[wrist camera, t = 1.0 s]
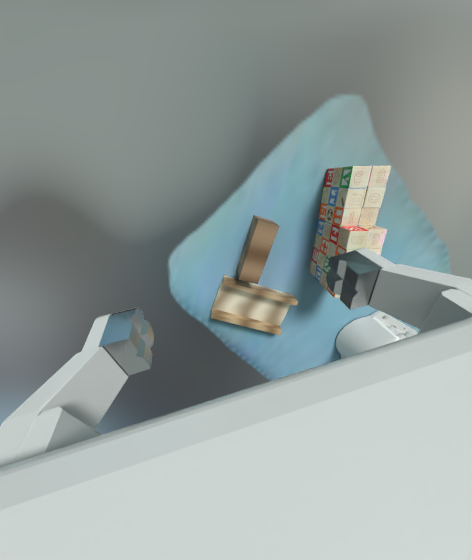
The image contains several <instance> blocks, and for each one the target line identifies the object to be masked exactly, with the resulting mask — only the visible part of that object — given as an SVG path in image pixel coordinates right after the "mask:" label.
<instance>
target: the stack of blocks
mask: <svg viewBox="0 0 472 560" xmlns="http://www.w3.org/2000/svg"><path fill="white" fill-rule="evenodd" d="M390 170H391V166H349V167H343V168H330V169H327V173H326V179H325V185H324V188H323V194H322V200H321V206H320V211H319V219H318V225H317V231H316V237H315V243H314V247H313V253H312V259H311V264H310V269H309V272H310V273H311V274H312V275H313V276H314V277H315V278H316V279H317V280H318V281H319V282H320V284H321V285H322V286H323V287H324V288H325V289H326V290H328V292H329V293H330V294H331V295H332V296H333V297H334V298H340V295H337V294H335V293H333V292H332V291H331V290H330V289H329V287H328V285H327V281H326V276H327V273H328V271H329V270H330V269H331V268H330V267H329V266H328V262H329V259H330V257H332V256H335V255H339V254H343V253H347V252H350V251H353V250H356V249H359V248H363V247H364V248H368V249H370V250H371V251H373V252H375V253H376V254H378V255H380V254H381V251H382V246H383V243H384V239H385V236H386V232H387V229H384V228H381V227H378V226H375V223H376V220H377V216H378V212H379V209H380V207H381V203H382V200H383V196H384V193H385V189H386V188H385V187H386V184H387V180H388V177H389V173H390Z"/></svg>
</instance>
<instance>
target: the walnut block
mask: <svg viewBox="0 0 472 560" xmlns="http://www.w3.org/2000/svg"><path fill="white" fill-rule="evenodd" d="M278 229H279V226H278V225H277V224H276V223H274V222H273V221H271V220H268V219H265V218H262V217H258V216H255V215H254V216H253V220H252V223H251V226H250V229H249V232H248V235H247V238H246V241H245V244H244V248H243V251H242V254H241V257H240V260H239V263H238V266H237V272H238V278H239V280H243V281H247V282H251V283H255V284H258V282H259V279H260V276H261V274H262V271H263V268H264V266H265V263H266V260H267V258H268V255H269V252H270V250H271V247H272V244H273V242H274V239H275V237H276V234H277V231H278Z"/></svg>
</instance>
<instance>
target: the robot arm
mask: <svg viewBox="0 0 472 560" xmlns="http://www.w3.org/2000/svg"><path fill="white" fill-rule="evenodd" d="M328 266H329V267H330V268H331V269H330V270H329V271H328V273H327V276H326V281H327V285H328V287H329V289H330V290H331V291H332V292H333V293H335V294H337V295H340V300H341V301H342V302H343V303H344V304H345V305H346V306H347V307H348V308H349V309H350V310H351V309H355V308H358V307H362V306H366V305H369V306H370V307H373V308H375V309H377V310H379V311H377V312H375V313H373V314H371V315H369V316H367V317H363V318H359V319H356V320H354V321H352V322H351V323H349V324H348V325H346V326H345V327H344V328H343V329H342V330H341V331H340V333H339V334H338V336H337V339H336V348H337V350H338V352H339V353H340V355H341V359H339V360H336V361H332V362H329V363H326V364H323V365H320V366H317V367H314V368H310V369H307V370H304V371H301V372H298V373H295V374H292V375H289V376H285V377H282V378H279V379H276V380H273V381H270V382H267V383H264V384H260V385H257V386H254V387H251V388H248V389H245V390H241V391H238V392H236V393H232V394H229V395H226V396H223V397H220V398H216V399H214V400H210V401H207V402H204V403H201V404H197V405H195V406H191V407H188V408H185V409H182V410H179V411H175V412H172V413H169V414H166V415H163V416H160V417H157V418H154V419H150V420H148V421H144V422H141V423H138V424H135V425H132V426H129V427H125V428H122V429H119V430H116V431H113V432H110V433H107V434H104V435H102V434H100V433H99V432H97V431H96V430H95V428H96V427H97V425H98V423H99V422H100V420H101V419H102V417H103V416H104V414H105V413H106V411H107V410H108V408H109V406H110V405H111V403H112V402H113V400H114V398H115V397H116V395H117V394H118V392H119V391H120V389H121V388H122V386H123V384H124V383H125V381H126V380H127V378H128V376H129V375H132V374H135V373H137V372H141V371H144V370H147V369H150V368H151V360H152V352H151V351H150V348H151V346H152V345H153V340H154V337H153V331H152V328H151V326H150V324H149V322H148V321H145V320H143V318H144V313H143V312H142V310H141V309H140V308H133V309H129V310H125V311H121V312H117V313H113V314H109V315H105V316H101V317H98V318H97V319H96V320H95V322H94V324H93V326H92V329H91V331H90V333H89V336H88V338H87V340H86V343H85V345H84V347H83V350H82V352H81V353H77V354H76V355H75V356H74V357H72V358H71V359H70V360H69V361H68V362H67V363H66V364H65V365H64V366H63V367H62V368H61V369H60V370H58V371H57V372H56V373H55V374H54V375H53V376H52V377H51V378H50V379H49V380H48V381H47V382H46V383H45V384H44V385H42V386H41V387H40V388H39V389H38V390H37V391H36V392H35V393H34V394H33V395H32V396H31V397H29V398H28V399H27V400H26V401H25V402H24V403H23V404H22V405H21V406H20V407H19V408H18V409H17V410H15V411H14V412H13V413H12V414H11V415H10V416H9V417H8V418H7V419H6V420H5V421H4V422H3V423H2V425H1V427H0V560H472V279H468V278H464V277H459V276H454V275H449V274H445V273H440V272H435V271H430V270H425V269H420V268H416V267H411V266H406V265H401V264H398V265H395V264H393V263H392V262H390V261H388V260H386V259H385V258H383V257H381V256H380V255H378V254H376V253H375V252H373V251H371V250H370V249H368V248H364V247H363V248H359V249H356V250H353V251H350V252H347V253H343V254H339V255H335V256H332V257H330V259H329V262H328ZM394 317H395V318H397V319H399V320H401V321H403V322H405V323H408V324H410V325H412V326H414V327H416V328H419V329H420V330H419V332H418V334H417V332H416V331H415V330H414V329H412V328H411V327H409V326H407V325H406V324H404V323H402V322H401V321H399V320H397V319H395V318H394Z"/></svg>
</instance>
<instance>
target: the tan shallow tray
mask: <svg viewBox="0 0 472 560" xmlns="http://www.w3.org/2000/svg"><path fill="white" fill-rule="evenodd" d="M291 304H292V305H295V306H297V304H298V301H297V299H296V297H295V296H294V295H290V294H287V293H284V292H280V291H277V290H273V289H270V288H267V287H263V286H260V285H256V284H253V283H250V282H246V281H243V280H239V279H236V278H233V277H229V276H226V275H224V276H223V279H222V281H221V284H220V287H219V290H218V293H217V296H216V298H215V301H214V304H213V307H212V310H211V318H213V319H217V320H221V321H225V322H229V323H233V324H237V325H241V326H245V327H249V328H253V329H257V330H261V331H265V332H269V333H273V334H277V335H281V334H282V330H281V328H280V324H281V323H282V321H283V319H284V317H285V315H286V313H287V311H288V309H289V307H290V306H291Z"/></svg>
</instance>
